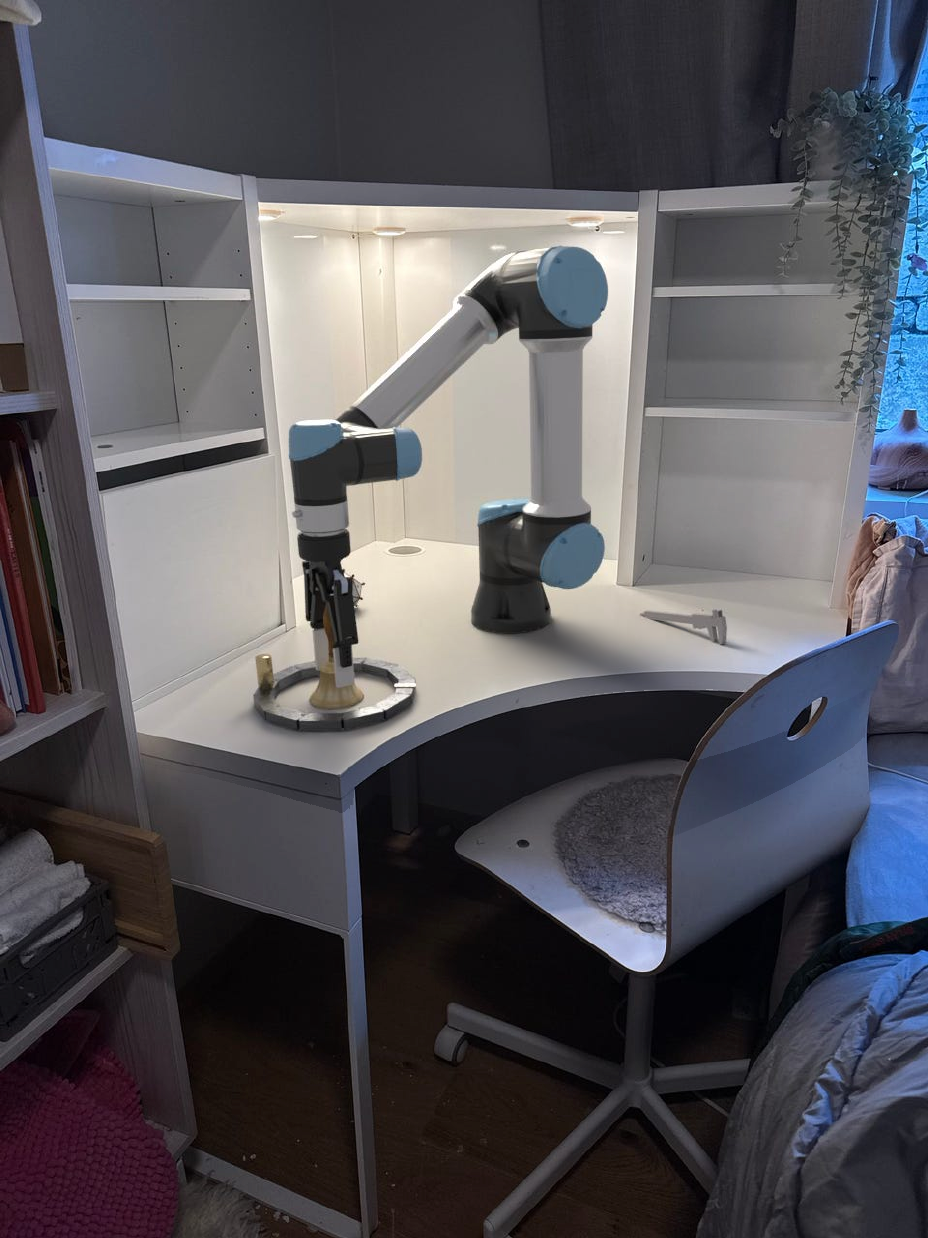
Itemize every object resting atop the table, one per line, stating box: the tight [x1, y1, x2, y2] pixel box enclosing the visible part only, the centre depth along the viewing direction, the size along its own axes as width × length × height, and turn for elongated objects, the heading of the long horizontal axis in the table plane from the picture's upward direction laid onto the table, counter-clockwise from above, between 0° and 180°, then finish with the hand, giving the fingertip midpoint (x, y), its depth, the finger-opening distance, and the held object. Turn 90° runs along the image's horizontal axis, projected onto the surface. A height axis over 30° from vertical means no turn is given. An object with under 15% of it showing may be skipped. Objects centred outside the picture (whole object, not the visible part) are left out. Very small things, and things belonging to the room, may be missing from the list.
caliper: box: [639, 609, 728, 645], centre depth 161 cm, size 20×1×6 cm, turn 33°
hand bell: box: [309, 604, 365, 710], centre depth 134 cm, size 8×8×16 cm
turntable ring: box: [252, 653, 417, 732], centre depth 136 cm, size 24×24×7 cm
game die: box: [330, 568, 366, 608], centre depth 176 cm, size 9×8×10 cm
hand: (334, 676), depth 136 cm, fingers open, 7 cm apart
